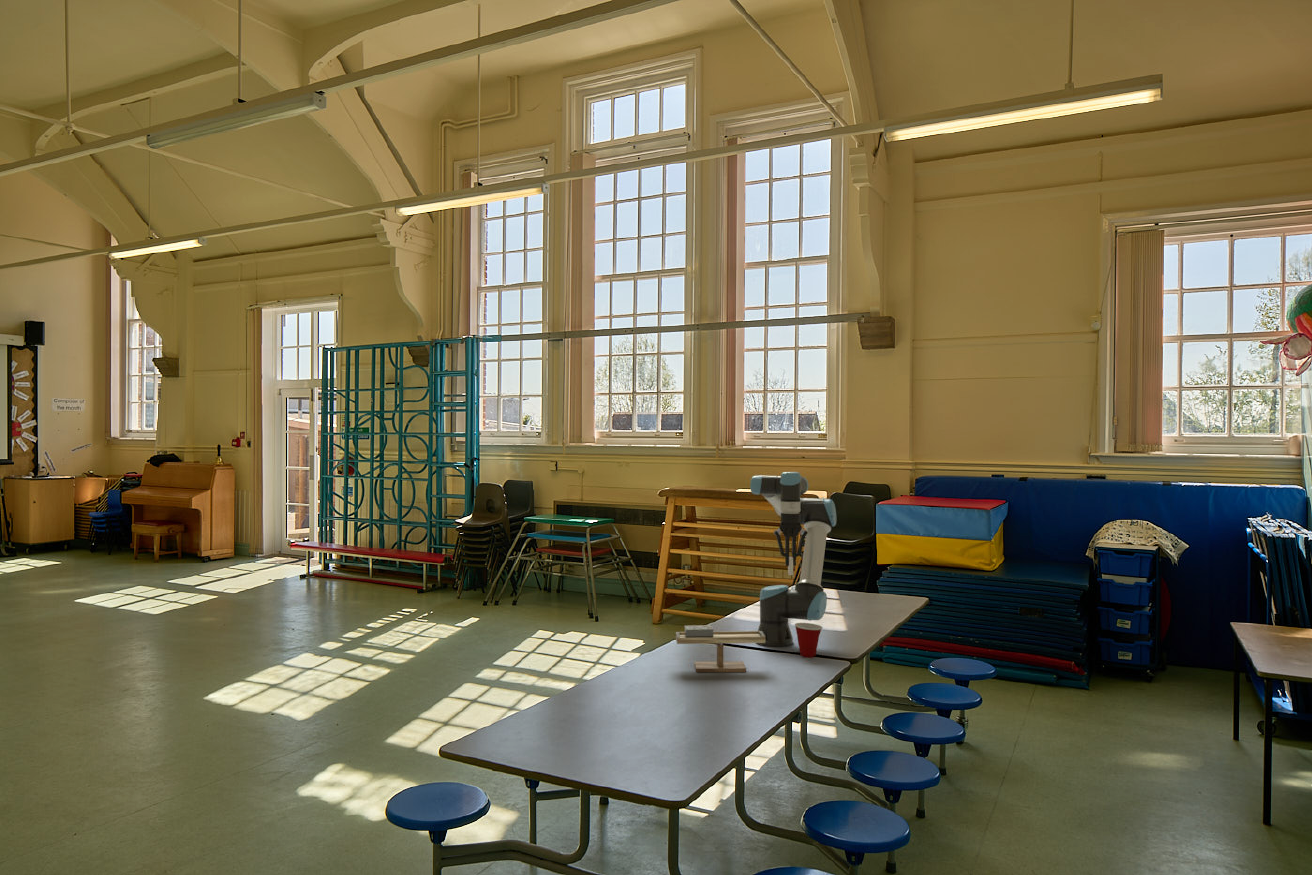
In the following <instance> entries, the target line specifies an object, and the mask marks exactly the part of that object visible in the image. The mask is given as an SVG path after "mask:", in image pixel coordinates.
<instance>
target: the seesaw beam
mask: <svg viewBox="0 0 1312 875" xmlns="http://www.w3.org/2000/svg"><path fill="white" fill-rule="evenodd" d="M675 640H676V642H675V643H676V645H687V644H688V645H690V644H691V645H695V644H696V645H697V644H698V645H699V644H700V645H701V644H703V645H704V644H709V645H710V644H717V643H719V644H720V646H722V645H723V646H724V644H758V643H765V635H764V633H763V632H762V631H758V630H747V631H746V630H743V631H741V630H740V631H739V630H738V631H737V630H735V631H734V630H733V631H729V630H728V631H727V630H726V631H713V637H685V631H676V632H675Z"/></svg>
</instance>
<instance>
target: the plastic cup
mask: <svg viewBox="0 0 1312 875" xmlns="http://www.w3.org/2000/svg"><path fill="white" fill-rule="evenodd" d="M794 627H795V631H796V635H797V636H796V637H797V642H798V648H799V654H800V656H801V657H802V656H803V658H814V656H815V657H816V655H817V649H818V643H819V638H820V635H821V632H822V629H823V628H824V627H823V626H822V625H819V624H815V623H811V622H796V623H794Z"/></svg>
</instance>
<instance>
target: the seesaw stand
mask: <svg viewBox="0 0 1312 875" xmlns="http://www.w3.org/2000/svg"><path fill="white" fill-rule="evenodd" d="M694 668H695V672H696V673H735V672H736V673H746V672H747V666H746V665H745V663H744V661H739V660H738V661H737V660H736V661H735V660H734V661H724V644H723V645H722V646H720V644H719V643H716V661H694Z"/></svg>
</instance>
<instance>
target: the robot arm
mask: <svg viewBox="0 0 1312 875" xmlns="http://www.w3.org/2000/svg"><path fill="white" fill-rule="evenodd" d="M749 485H750V486H749V488H750V492H751V494H753V495H756V496H757V495H758V496H759V495H761V496H763V498H764V499H765V500H767V502H768V503H769V504H770V505H771V506H772V507H773V508H774V511H775V513H776V515H778V517H779V518H780V525H779V527H778V529H776V530H774V531H773V534H774V535H775V537H776V541H777V545H778V549H779V553H780V555H781V556H782V557H785V559H784V560H785V566H786V567H787V573H788V574H787V575H789V576H794V567H796V566H797V557H800V556H801V555H802V553H803V555H802V561H801V562H802V563H801V569H800V577H799V581H798V582H797V583H796V584H795V586H794V589H790V588H789V586H788V584H787V585H785V584H779V585H778V584H776V585H769V586H764V587H762V588H761V590H760V593H759V625H758V629H757V631H762V632H763V633H764V635H765V643H757V644H758V645H761V646H764V647H765V646H766V647H787V646H786V645H788V646H791V645H793V643H794V641H793V640H794V638H793V634H792V631H791V628H790V625H789V619H792V620H804V621H820V620H821V619H822V618H823V617H824V615H825V613H826V608H827V604H828V602H827V601H828V596H827V593H826V592H825V591H824V588H823V586H822V585H821V584H822V576H823V575H822V574H823V567H824V560H825V552H826V551H825V550H826V543H827V537H828V534H829V533H830V532H831V531H832V527H835V526H836V525H837V510H836V505H835V502H834V501H833V499H831V498H824V497H822V498H818V497H817V498H816V497H815V498H811V497H801V496H802V495H804V494H806V493H807V492H808V490H809V486H810V484H809V481H808V480H807V478H806V477H804V476H802V475H801V473H800V472H798V471H783V472H782V473H781V474H780V475H761V474H760V475H753V476H752V477H751V479H750V484H749ZM802 525H803V526H802ZM781 534H782V535H783V536H784V546H783V543H782V538H781ZM799 534H800V537H799V541H798V545H797V537H798V536H799ZM790 538H791V556H790ZM797 546H798V547H797ZM790 644H791V645H790Z"/></svg>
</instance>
